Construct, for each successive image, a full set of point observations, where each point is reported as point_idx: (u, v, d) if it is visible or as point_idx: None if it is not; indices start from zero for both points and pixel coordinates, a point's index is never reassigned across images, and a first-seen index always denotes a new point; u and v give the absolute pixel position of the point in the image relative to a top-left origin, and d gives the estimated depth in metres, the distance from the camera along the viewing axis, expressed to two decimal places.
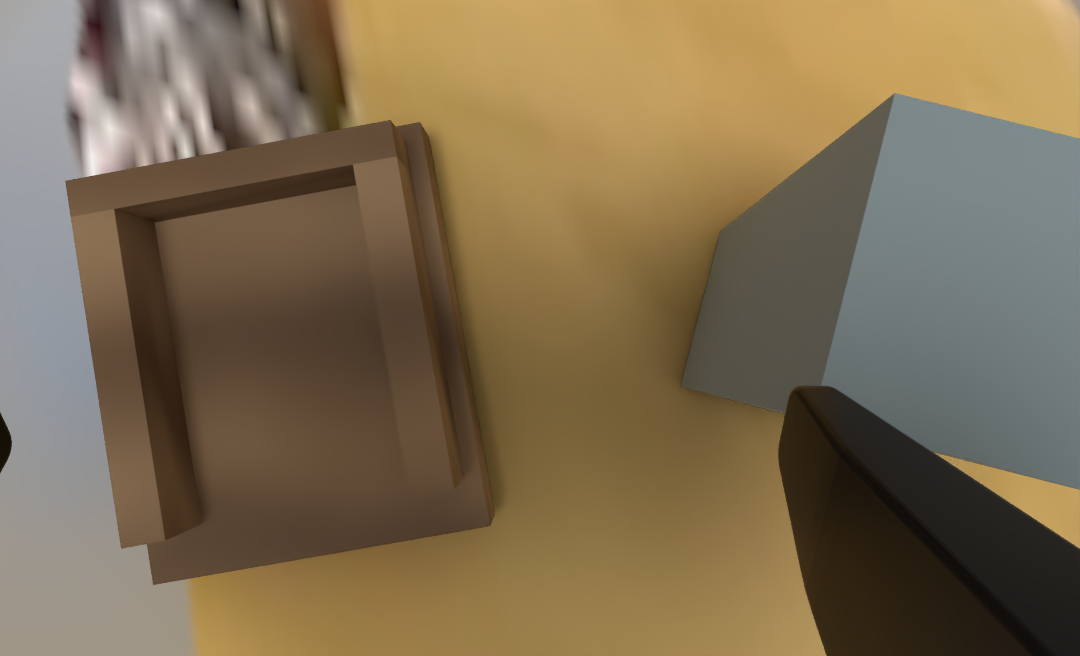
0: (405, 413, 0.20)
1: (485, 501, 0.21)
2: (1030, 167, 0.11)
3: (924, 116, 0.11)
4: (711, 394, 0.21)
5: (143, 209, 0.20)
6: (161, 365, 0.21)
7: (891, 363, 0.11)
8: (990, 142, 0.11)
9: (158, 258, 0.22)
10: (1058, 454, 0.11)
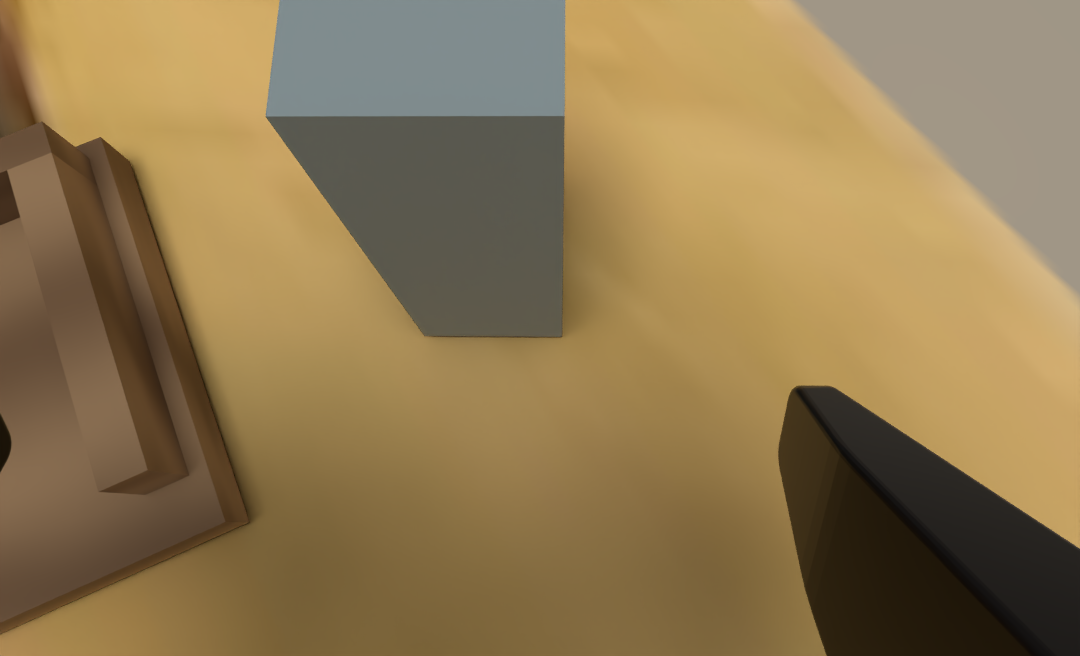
0: (84, 401, 0.18)
1: (216, 496, 0.19)
2: None
3: None
4: (439, 322, 0.20)
5: None
6: None
7: (339, 46, 0.10)
8: None
9: None
10: (529, 87, 0.10)
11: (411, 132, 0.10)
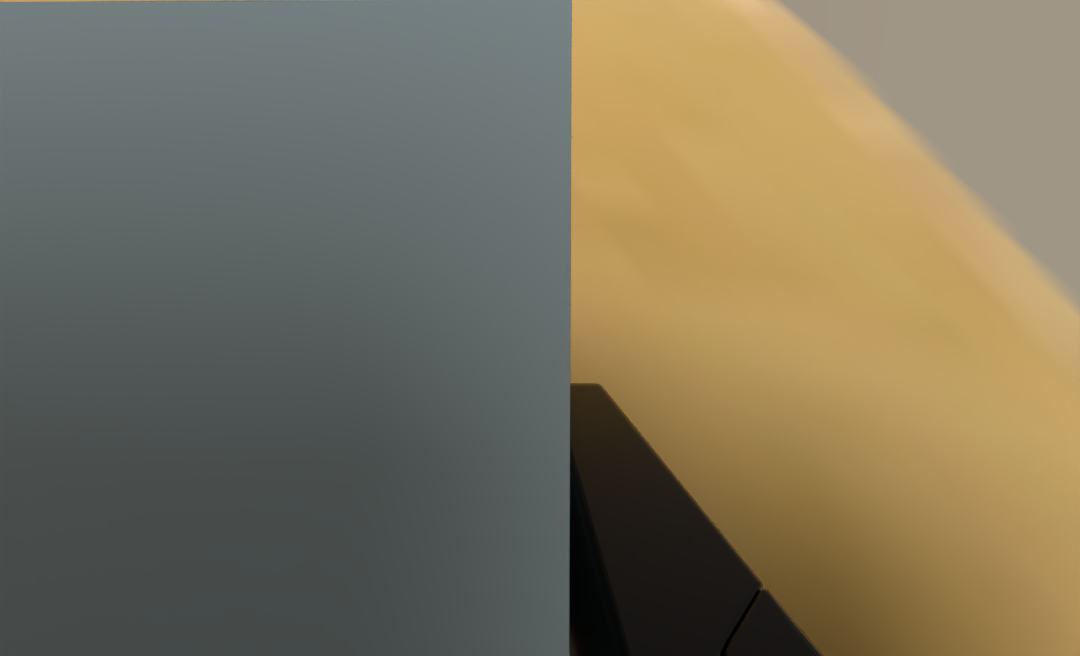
0: None
1: None
2: (149, 119, 0.03)
3: None
4: None
5: None
6: None
7: None
8: (2, 73, 0.03)
9: None
10: None
11: None
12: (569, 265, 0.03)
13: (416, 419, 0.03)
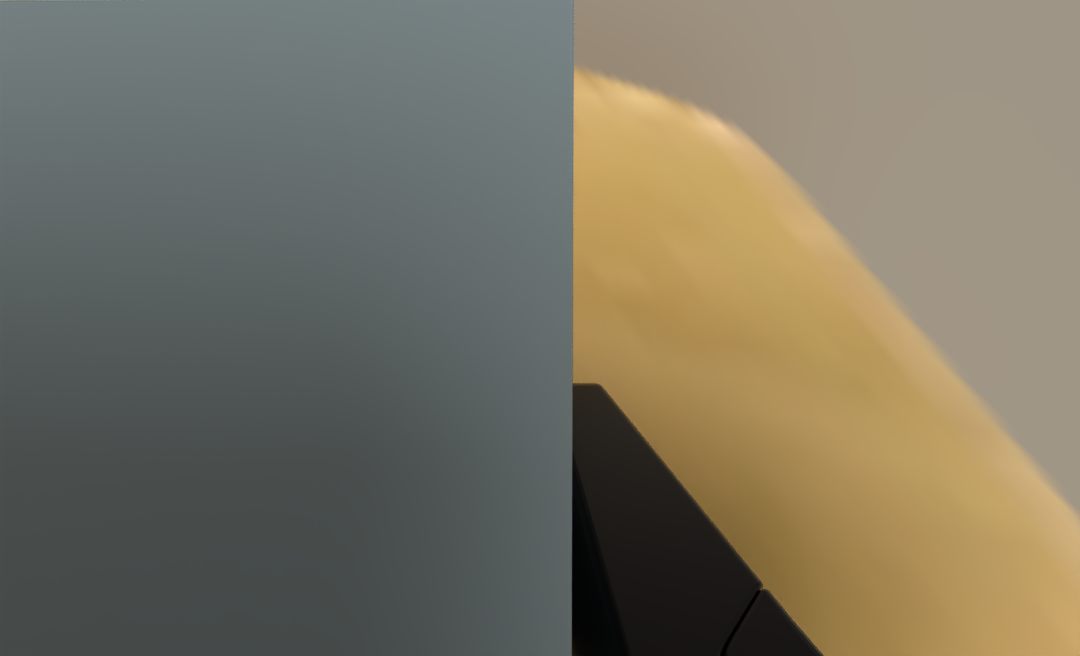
0: None
1: None
2: (151, 118, 0.03)
3: None
4: None
5: None
6: None
7: None
8: (5, 72, 0.03)
9: None
10: None
11: None
12: (572, 263, 0.03)
13: (422, 419, 0.03)
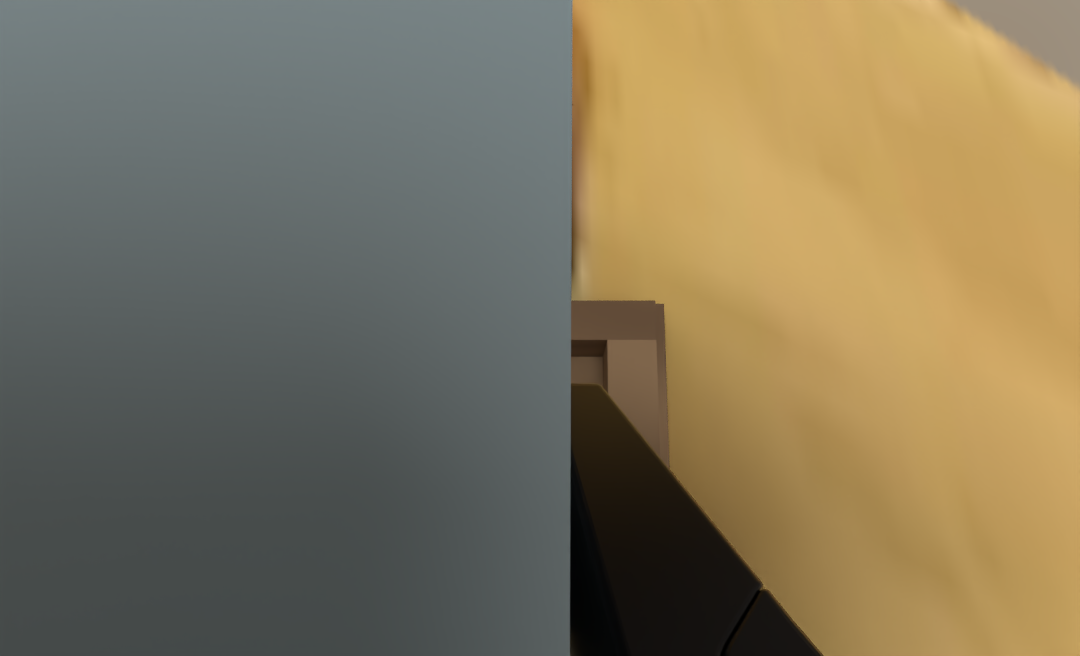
0: None
1: None
2: (151, 114, 0.03)
3: None
4: None
5: None
6: None
7: None
8: (4, 69, 0.03)
9: None
10: None
11: None
12: None
13: (419, 416, 0.03)
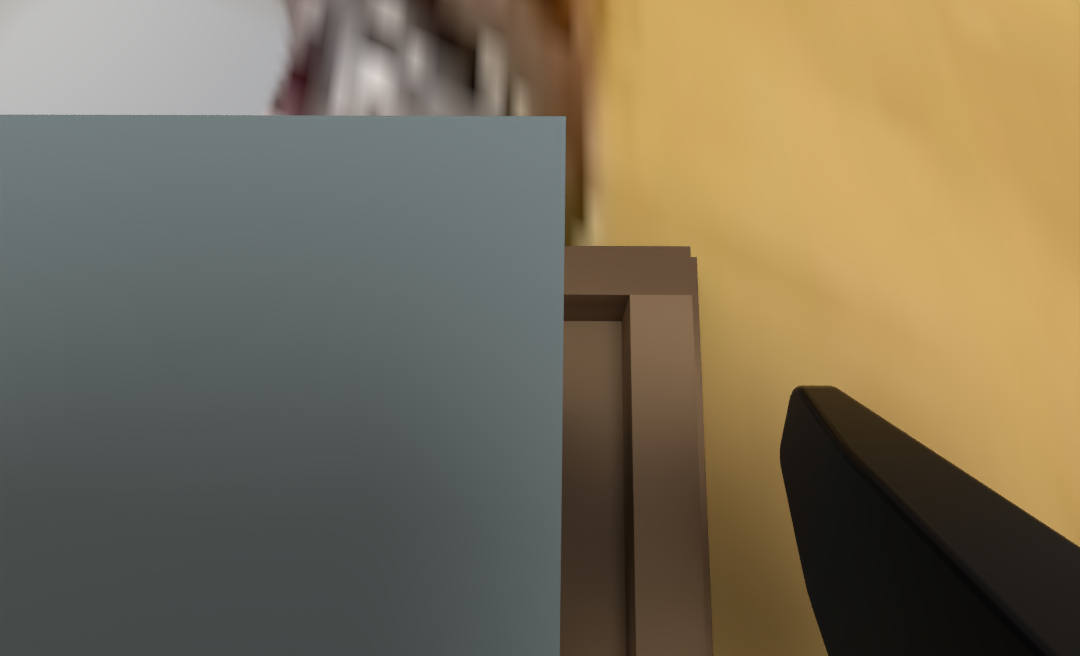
0: None
1: None
2: (238, 211, 0.04)
3: None
4: None
5: None
6: None
7: None
8: (123, 174, 0.04)
9: None
10: None
11: None
12: (562, 328, 0.04)
13: (446, 448, 0.04)
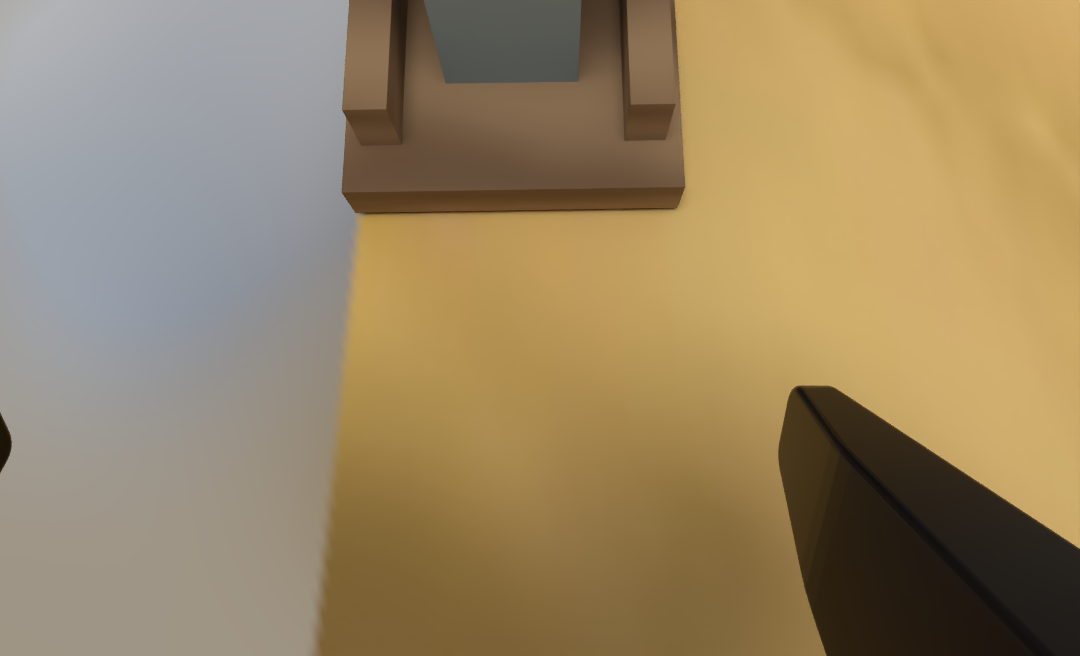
0: (637, 32, 0.20)
1: (683, 164, 0.22)
2: None
3: None
4: (461, 53, 0.21)
5: None
6: None
7: None
8: None
9: None
10: None
11: None
12: None
13: None
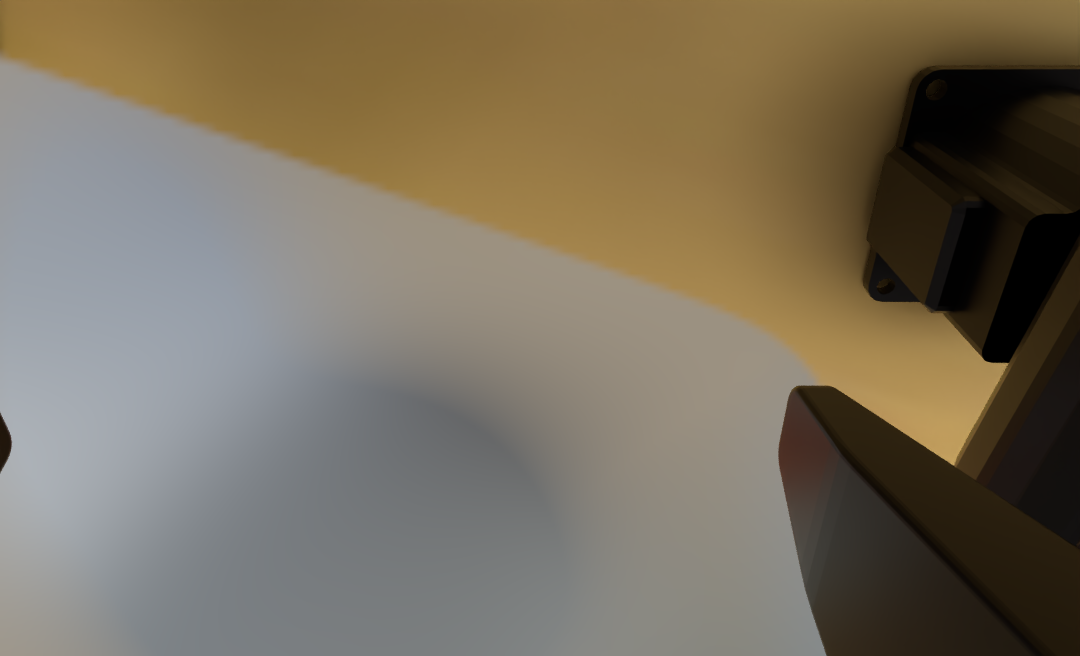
0: None
1: None
2: None
3: None
4: None
5: None
6: None
7: None
8: None
9: None
10: None
11: None
12: None
13: None
